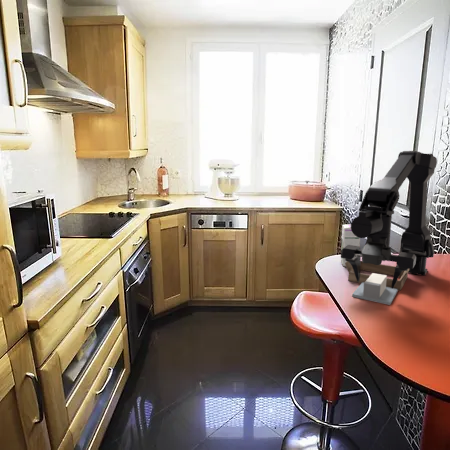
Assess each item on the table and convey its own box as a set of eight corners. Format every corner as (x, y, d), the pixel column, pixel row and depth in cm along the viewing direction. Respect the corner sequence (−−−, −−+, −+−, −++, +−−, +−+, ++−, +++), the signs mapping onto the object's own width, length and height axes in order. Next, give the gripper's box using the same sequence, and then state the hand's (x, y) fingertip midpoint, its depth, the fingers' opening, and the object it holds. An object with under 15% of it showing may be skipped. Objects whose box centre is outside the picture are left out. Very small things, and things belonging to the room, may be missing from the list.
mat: (362, 284, 107) (362, 282, 106) (397, 291, 101) (397, 288, 101) (352, 296, 98) (352, 294, 98) (390, 305, 92) (390, 302, 92)
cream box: (371, 285, 104) (372, 272, 103) (385, 288, 101) (386, 275, 100) (363, 296, 96) (363, 283, 95) (378, 299, 94) (379, 286, 93)
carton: (355, 268, 121) (356, 252, 120) (412, 278, 111) (413, 261, 110) (343, 279, 111) (344, 262, 109) (405, 291, 100) (407, 273, 99)
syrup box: (359, 267, 122) (361, 227, 119) (341, 266, 123) (344, 227, 120) (356, 262, 128) (358, 224, 125) (340, 261, 129) (341, 223, 126)
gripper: (335, 233, 93) (333, 287, 97) (412, 242, 83) (406, 302, 86) (347, 226, 102) (345, 275, 105) (418, 233, 91) (413, 288, 95)
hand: (374, 284), depth 98 cm, fingers open, 9 cm apart
